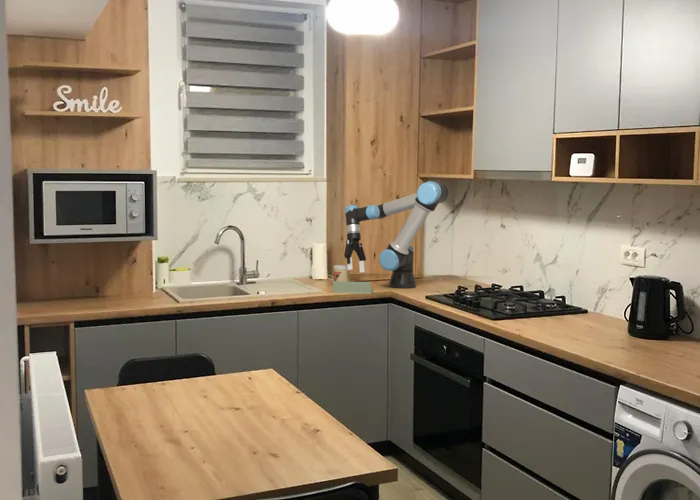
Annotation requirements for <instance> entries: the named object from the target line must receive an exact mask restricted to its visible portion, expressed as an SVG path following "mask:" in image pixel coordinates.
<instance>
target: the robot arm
mask: <svg viewBox="0 0 700 500" xmlns="http://www.w3.org/2000/svg"><path fill="white" fill-rule="evenodd" d="M449 192H450V191H449V187H448V185H446V184H445V183H444V182H442V181H432V180H431V181H426V182H424V183H422V184H420V186H419V187H418V188H417V190H416V192H415V193H413V194H409V195H406V196H404V197H400V198H396V199H394V200H391V201H390V200H389V201H388V202H384V203H380V204H372V205H366V206H362V207H359V206H358V205H355V204H352V205H351V204H350V205H347V206H346V207H345V209H344V215H345V225H346V227H345V228H346V229H345V231H346V241H345V242H346V243H345V250H344V253H343V254H344V255H343V256H344V259H346V265H347V267H348V270H350V271H351V270H352V271H353V269H354V267H353V258H352V256H353V255H352V254H353V252H355V253H356V255H357V257H358V258H357V259H358V260H359V262H358V264H359V265H358V267H359V274H361V273H365V272H366V269H365V261H367V258H366V254H365V250H364V248H363V243H362V242H361V243H360V241H361V239H362V237H361V225H360V224H361V223H360V222H364V221H365V222H366V221H370V220H372V221H373V220H381V219H384V218H387V217H390V216H393V215H396V214H400V213H403V212H407V211H410V210H411V211H410V213H409V215H408V216H407V218H406V220H405V222H404V223H403V225H402V227H401V228H400V230H399V232H398V234H397V236H396V238H394V240H393V241H390V242H389V244H388V245H387V247H386V249H383V250H382V251H381V252H380V254H379V255H378V261H379V265H380V266H381V268H382V269H384V270H385V271H388V272H391V275H390V279H389V281H388V287H390V288H397V289H413V288H416V287H417V281H416V279H415V278H416V277H415V275H414V254H415V253H414V247H413V246H412V243H413V242H414V240H415V238H416V236H417V235H418V232H419V231H420V229H421V228H422V226H423V225H424V223H425V221H426V219H427V218H428V216H429V215H430V213H432V212H434V211H435V210H436V208H437V206H438V205H440V204H442V203H444V202H445V201H447V199H448V198H449V195H450V193H449Z"/></svg>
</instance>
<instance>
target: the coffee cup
mask: <svg viewBox="0 0 700 500" xmlns="http://www.w3.org/2000/svg"><path fill="white" fill-rule="evenodd" d="M332 268H333V281H349V282H350V276H351V275H350V274H351V270H348V267H347V264H335V265H333V267H332Z"/></svg>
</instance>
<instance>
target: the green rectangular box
mask: <svg viewBox="0 0 700 500" xmlns="http://www.w3.org/2000/svg"><path fill="white" fill-rule="evenodd" d="M373 291H374V288H373V287H372V281H350V280H349V281H334V280H333V281H332V294H360V295H362V294H363V295H364V294H368V295H369V294H370V295H371V294H372V293H373Z"/></svg>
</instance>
